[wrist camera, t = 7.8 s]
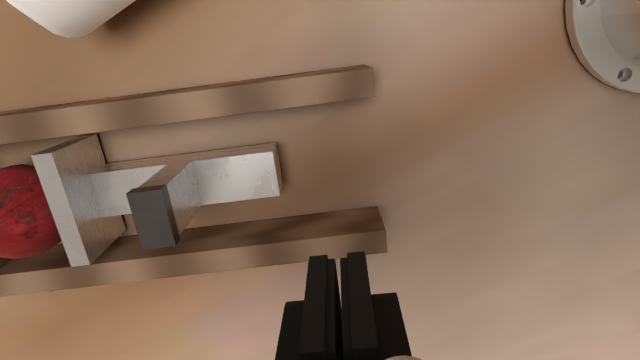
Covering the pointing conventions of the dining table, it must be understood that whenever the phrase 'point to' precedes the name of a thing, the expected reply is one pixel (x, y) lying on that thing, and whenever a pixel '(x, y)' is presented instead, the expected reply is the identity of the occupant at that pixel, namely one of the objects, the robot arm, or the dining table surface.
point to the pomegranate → (24, 214)
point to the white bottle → (70, 14)
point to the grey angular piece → (145, 191)
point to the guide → (205, 242)
